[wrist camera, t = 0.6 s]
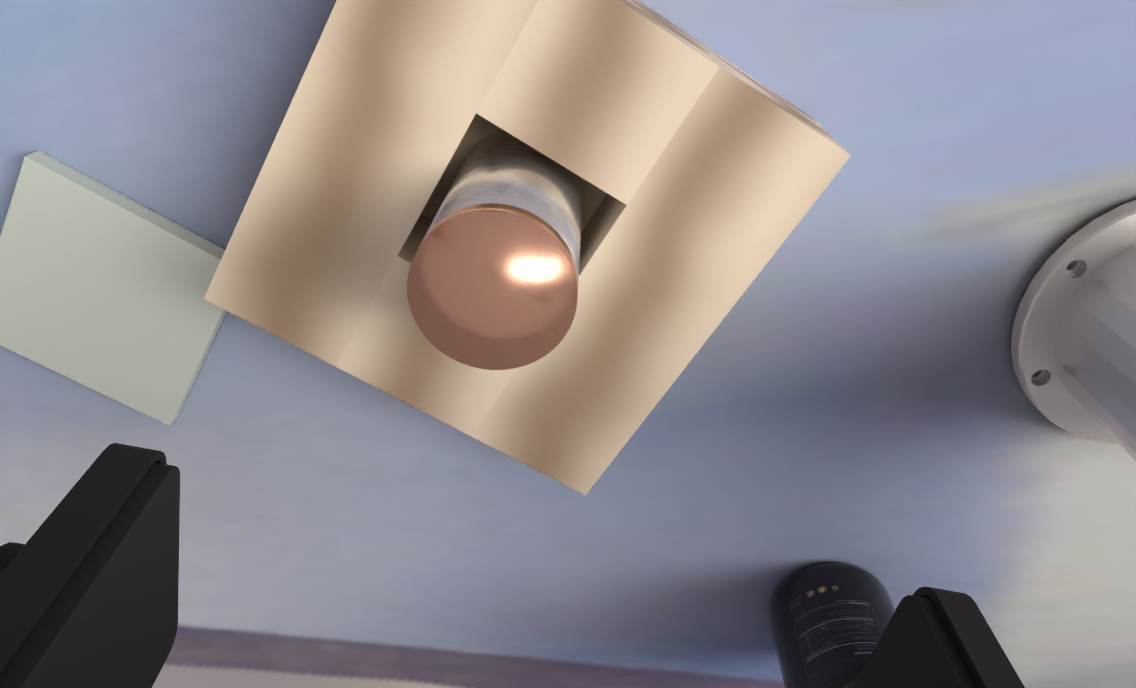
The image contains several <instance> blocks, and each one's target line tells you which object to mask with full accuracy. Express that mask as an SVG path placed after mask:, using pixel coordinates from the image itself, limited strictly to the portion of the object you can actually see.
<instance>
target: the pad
mask: <svg viewBox="0 0 1136 688" xmlns="http://www.w3.org/2000/svg"><path fill="white" fill-rule="evenodd" d="M224 252H225V249H223V248H221V247H219V246H217V245H216V244H214V243H212V242H210V241H208V240H206V239H204V238H202V237H200V236H199V235H197V234H195V233H193V232H191V231H189V230H187V229H185V228H184V227H182V226H180V225H178V224H176V223H174V222H172V221H170V220H168V219H167V218H165V217H163V216H161V215H159V214H157V213H155V212H153V211H151V210H150V209H148V208H146V207H144V206H142V205H140V204H138V203H136V202H135V201H133V200H131V199H129V198H127V197H125V196H123V195H121V194H119V193H118V192H116V191H114V190H112V189H110V188H108V187H106V186H104V185H103V184H101V183H99V182H97V181H95V180H93V179H91V178H89V177H87V176H86V175H84V174H82V173H80V172H78V171H76V170H74V169H72V168H71V167H69V166H67V165H65V164H63V163H61V162H59V161H57V160H55V159H54V158H52V157H50V156H48V155H46V154H44V153H42V152H40V151H39V150H38V151H36V152H34V153H31V154H29V155H27V156H25V157H24V160H23V164H22V167H21V170H20V173H19V177H18V180H17V183H16V187H15V190H14V193H13V196H12V200H11V203H10V206H9V209H8V213H7V216H6V219H5V222H4V226H3V229H2V232H1V235H0V346H3V347H5V348H7V349H9V350H11V351H13V352H15V353H17V354H19V355H21V356H24V357H26V358H28V359H30V360H32V361H34V362H36V363H38V364H40V365H42V366H45V367H47V368H49V369H51V370H53V371H55V372H57V373H59V374H61V375H63V376H66V377H68V378H70V379H72V380H74V381H76V382H78V383H80V384H82V385H84V386H87V387H89V388H91V389H93V390H95V391H97V392H99V393H101V394H103V395H105V396H108V397H110V398H112V399H114V400H116V401H118V402H120V403H122V404H124V405H126V406H129V407H131V408H133V409H135V410H137V411H139V412H141V413H143V414H145V415H148V416H150V417H152V418H154V419H156V420H158V421H160V422H162V423H164V424H166V425H169V426H170V425H171V424H172V423H173V422H174V421H175V419H176V418H177V417H178V416H179V414H180V412H181V409H182V407H183V405H184V403H185V401H186V399H187V396H188V394H189V392H190V390H191V388H192V386H193V384H194V381H195V379H196V377H197V375H198V373H199V371H200V368H201V366H202V364H203V362H204V360H205V358H206V356H207V353H208V351H209V349H210V347H211V345H212V343H213V340H214V338H215V336H216V334H217V332H218V330H219V328H220V325H221V323H222V321H223V319H224V317H225V315H226V312H227V311H226V310H224V309H222V308H220V307H219V306H217V305H215V304H213V303H211V302H209V301H207V300H205V299H204V297H205V294H206V292H207V290H208V288H209V285H210V283H211V281H212V279H213V276H214V274H215V272H216V270H217V267H218V265H219V263H220V261H221V259H222V256H223V254H224Z"/></svg>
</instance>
